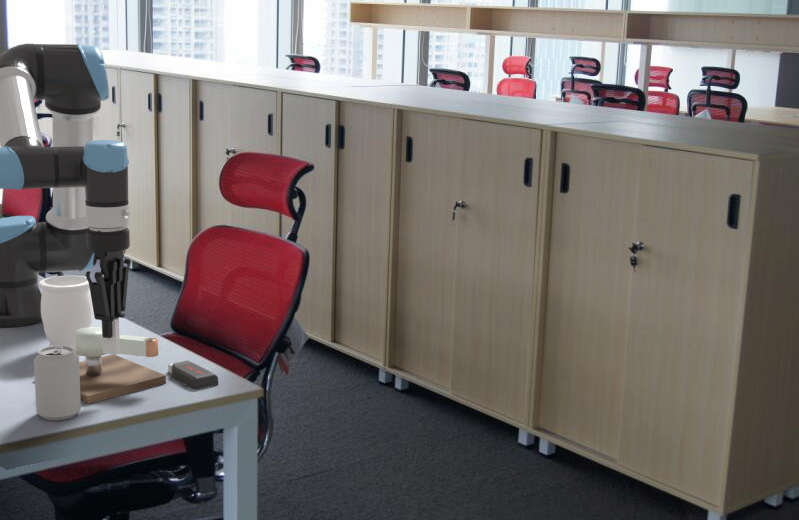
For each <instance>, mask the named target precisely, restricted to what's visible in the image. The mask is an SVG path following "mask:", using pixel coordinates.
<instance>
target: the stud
mask: <svg viewBox="0 0 799 520" xmlns="http://www.w3.org/2000/svg"><path fill="white" fill-rule="evenodd" d="M84 357H85V358H84V361H85V362H86V375H87V376H99V375H101V374H102V357H103V355H102V356H94V357H86V356H84Z"/></svg>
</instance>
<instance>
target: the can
mask: <svg viewBox="0 0 799 520" xmlns="http://www.w3.org/2000/svg"><path fill="white" fill-rule="evenodd" d="M79 362H80V357H79V355H78V354H76V353H75V349H74V348H73V347H70V346H64V345H55V346H49V345H48V346H44V347H41V348H40V349H38V350H37V355H36V356H35V358H34V359H33V364H34V365H33V369H34V370H33V371H34V389H35V390H34V391H35V409H36V410H35V411H36V414H37V415H38V416H40V417H41V418H42V419H44V420H47V421H48V420H49V421H64V420H67V419H71V418H73V417H75V416H76V415H77V413H78V412H80V411H81V408H82V407H81V406H82V404H81V402H82V401H81V400H80V371H79Z"/></svg>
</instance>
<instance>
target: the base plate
mask: <svg viewBox="0 0 799 520" xmlns="http://www.w3.org/2000/svg"><path fill="white" fill-rule="evenodd" d="M79 371H80V400H81V402H82V403H83V402H84V403H86V404H87V405H90V404H93V403H97V402H100V401H104V400H107V399H111V398H115V397H118V396H119V397H120V396H122V395H127V394H129V393H130V394H131V393H133V392H138V391H141V390H144V389H148V388H152V387H155V386H159V385H162V384H163V385H164V384H166V383H167V375H166V374H163V373H161V372H159V371H157V370H154V369H151V368H149V367H146V366H144V365H140V364H138V363H136V362H134V361H132V360H128V359H126V358H123V357H122V356H119V355H118V354H117V355H114V354H107V355H103V356H102V374H101V375H99V376H87V375H86V362H85V360H83V361H79Z"/></svg>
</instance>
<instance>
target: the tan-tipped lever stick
mask: <svg viewBox="0 0 799 520" xmlns="http://www.w3.org/2000/svg"><path fill="white" fill-rule="evenodd" d="M119 335H120V353H118V354H117V355H128V356H129V355H130V356H136V357H137V356H138V357H146V358H154V357H155V358H156V357H157V356H159V339H158V338H157V337H148V336H136V335H129V334H128V335H125V334H119ZM75 341H76V354H77V355H78V356H81V357H85V356H86V357H94V356H102V357H103V356H106V354H104V353H103V347H102V326H91V327H86V328H81V329H78V330H77V331H75Z"/></svg>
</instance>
